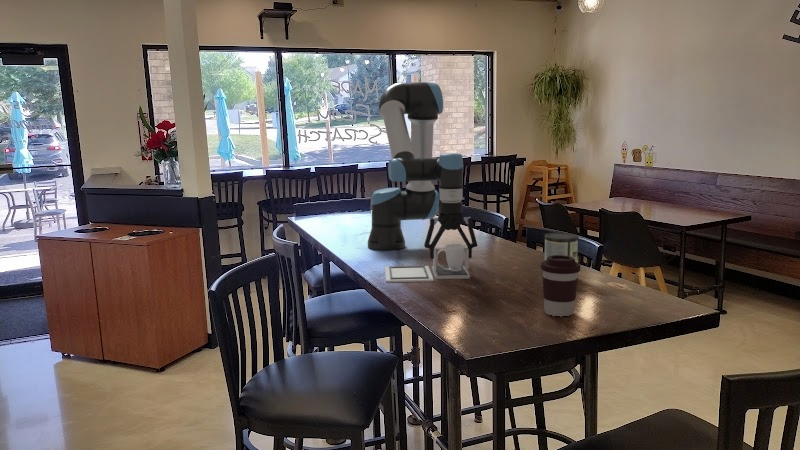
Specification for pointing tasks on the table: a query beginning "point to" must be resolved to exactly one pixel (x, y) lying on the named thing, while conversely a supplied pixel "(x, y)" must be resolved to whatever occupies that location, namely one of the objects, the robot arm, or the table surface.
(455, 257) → the cup
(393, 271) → the board
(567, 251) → the coffee can
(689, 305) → the table surface
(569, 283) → the coffee cup
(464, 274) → the ink pad
